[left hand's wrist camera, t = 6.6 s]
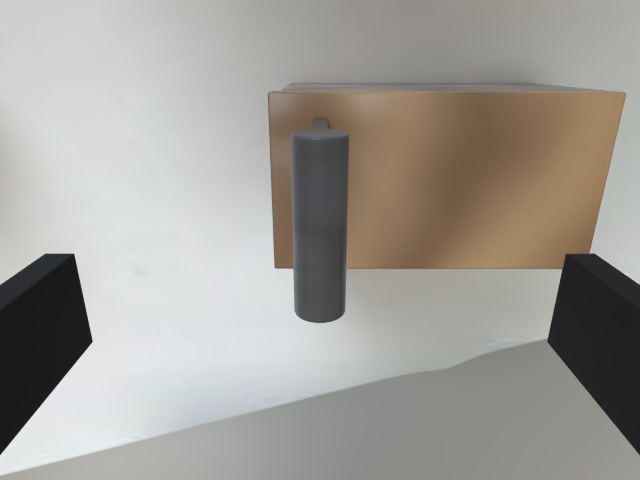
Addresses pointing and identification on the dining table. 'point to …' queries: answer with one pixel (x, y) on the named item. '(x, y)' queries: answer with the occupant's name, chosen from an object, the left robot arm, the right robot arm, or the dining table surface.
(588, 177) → the lid
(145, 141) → the dining table surface
